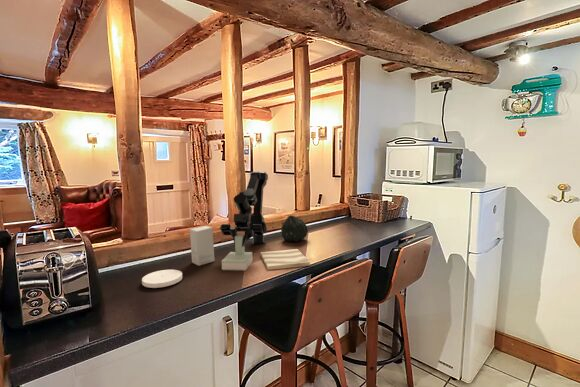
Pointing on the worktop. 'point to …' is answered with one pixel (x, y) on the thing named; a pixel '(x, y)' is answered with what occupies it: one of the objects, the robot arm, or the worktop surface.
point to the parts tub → (237, 265)
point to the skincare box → (202, 245)
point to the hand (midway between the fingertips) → (238, 246)
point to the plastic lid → (162, 278)
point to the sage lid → (238, 252)
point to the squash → (294, 229)
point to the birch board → (284, 259)
